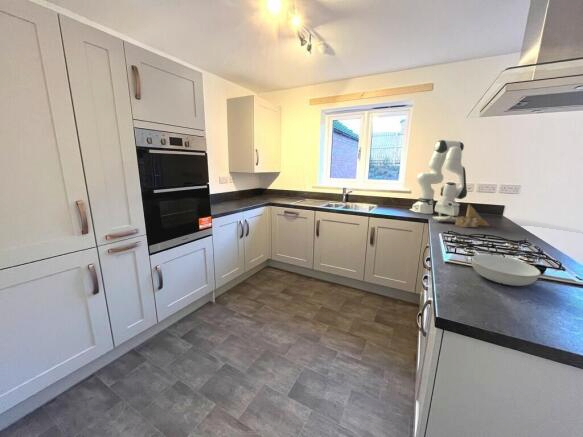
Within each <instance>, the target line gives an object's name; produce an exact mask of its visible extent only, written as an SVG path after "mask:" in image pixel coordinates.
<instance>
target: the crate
mask: <svg viewBox="0 0 583 437" xmlns="http://www.w3.org/2000/svg"><path fill="white" fill-rule="evenodd" d="M455 218H456V220H455V224H454V226H455V227H459V228H474V227H479V225H478V224H479V219H480V218H478V217H474V216H466V215H465V216H455Z"/></svg>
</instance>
